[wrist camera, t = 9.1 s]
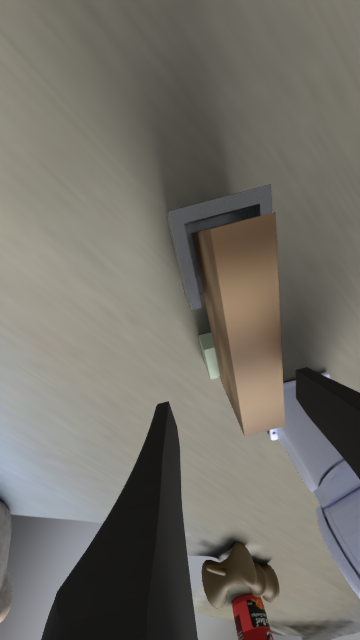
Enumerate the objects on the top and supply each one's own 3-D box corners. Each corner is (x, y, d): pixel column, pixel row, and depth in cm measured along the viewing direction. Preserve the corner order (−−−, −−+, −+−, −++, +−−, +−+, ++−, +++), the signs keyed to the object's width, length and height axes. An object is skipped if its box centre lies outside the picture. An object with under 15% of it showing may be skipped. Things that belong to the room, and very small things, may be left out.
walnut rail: (250, 374, 20) (285, 426, 14) (221, 381, 20) (244, 436, 14) (231, 222, 14) (275, 212, 9) (191, 233, 14) (210, 229, 9)
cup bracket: (242, 274, 19) (276, 288, 13) (182, 289, 19) (191, 310, 13) (234, 202, 17) (270, 184, 11) (165, 220, 17) (168, 211, 11)
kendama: (246, 571, 47) (185, 555, 40) (278, 551, 45) (219, 531, 38) (259, 615, 41) (190, 606, 34) (296, 595, 39) (231, 581, 32)
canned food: (266, 596, 52) (291, 682, 42) (241, 607, 54) (260, 693, 44) (250, 590, 50) (273, 680, 40) (225, 602, 51) (241, 692, 41)
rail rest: (247, 351, 22) (259, 366, 20) (204, 362, 22) (210, 379, 20) (243, 323, 21) (256, 336, 18) (198, 335, 21) (203, 350, 18)
